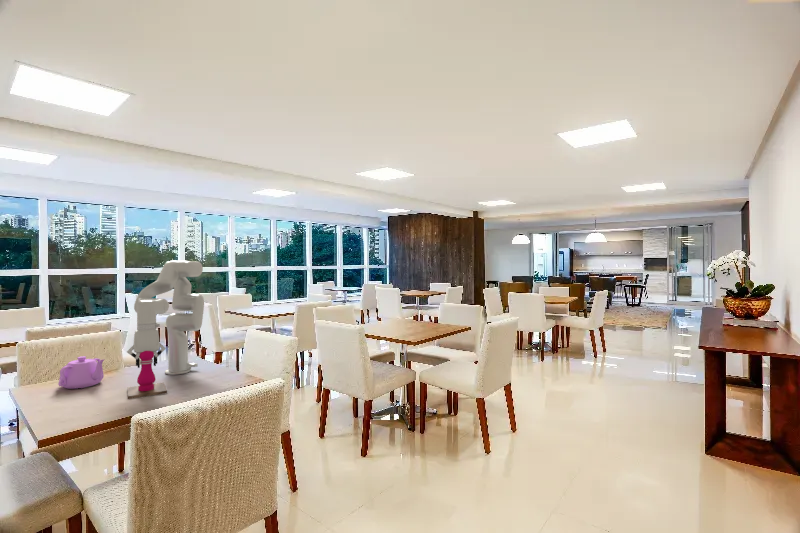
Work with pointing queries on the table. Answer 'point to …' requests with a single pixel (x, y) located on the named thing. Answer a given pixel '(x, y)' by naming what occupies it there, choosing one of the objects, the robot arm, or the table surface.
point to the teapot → (81, 373)
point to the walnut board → (157, 390)
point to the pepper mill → (146, 372)
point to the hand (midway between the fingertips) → (146, 366)
